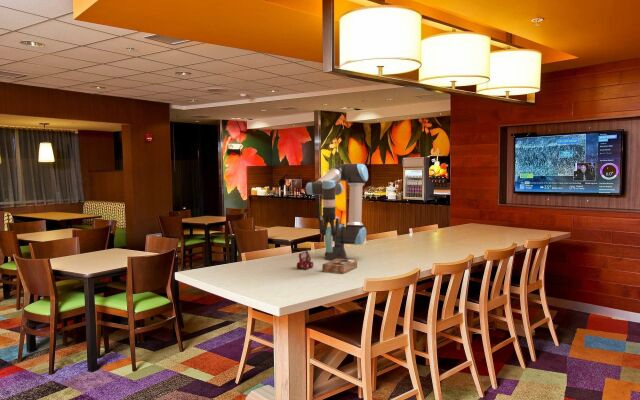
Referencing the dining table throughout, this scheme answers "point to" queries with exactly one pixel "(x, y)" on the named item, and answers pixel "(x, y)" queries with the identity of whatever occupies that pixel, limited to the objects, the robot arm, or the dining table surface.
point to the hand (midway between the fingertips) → (329, 246)
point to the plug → (328, 241)
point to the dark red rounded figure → (304, 261)
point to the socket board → (339, 266)
